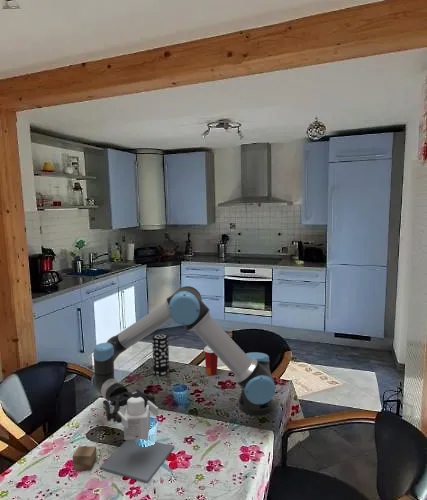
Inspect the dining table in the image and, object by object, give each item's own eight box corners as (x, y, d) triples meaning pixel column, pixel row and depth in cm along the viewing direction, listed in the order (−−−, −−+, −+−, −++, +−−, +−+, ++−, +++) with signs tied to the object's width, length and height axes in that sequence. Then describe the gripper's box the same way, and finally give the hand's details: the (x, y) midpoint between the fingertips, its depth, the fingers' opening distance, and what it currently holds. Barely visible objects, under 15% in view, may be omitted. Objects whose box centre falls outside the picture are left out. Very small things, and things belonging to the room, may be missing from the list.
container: (127, 426, 126) (126, 390, 124) (149, 425, 126) (149, 389, 125) (124, 440, 118) (122, 402, 117) (147, 438, 119) (147, 401, 117)
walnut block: (96, 460, 122) (96, 446, 122) (91, 470, 117) (90, 456, 117) (79, 460, 123) (78, 446, 122) (73, 470, 118) (72, 455, 117)
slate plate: (174, 448, 128) (174, 446, 128) (147, 483, 111) (147, 480, 111) (131, 437, 135) (131, 435, 134) (99, 469, 118) (99, 466, 118)
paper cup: (219, 370, 193) (219, 345, 191) (218, 376, 185) (217, 350, 184) (204, 369, 193) (204, 344, 192) (203, 376, 186) (202, 349, 185)
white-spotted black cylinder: (171, 371, 192) (171, 334, 191) (164, 377, 185) (163, 339, 183) (157, 369, 195) (157, 333, 193) (150, 375, 187) (149, 338, 185)
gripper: (142, 392, 143) (172, 416, 126) (84, 412, 129) (109, 442, 111) (141, 374, 142) (172, 395, 125) (83, 392, 128) (108, 419, 111)
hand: (142, 417), depth 118 cm, fingers closed on container, 10 cm apart
